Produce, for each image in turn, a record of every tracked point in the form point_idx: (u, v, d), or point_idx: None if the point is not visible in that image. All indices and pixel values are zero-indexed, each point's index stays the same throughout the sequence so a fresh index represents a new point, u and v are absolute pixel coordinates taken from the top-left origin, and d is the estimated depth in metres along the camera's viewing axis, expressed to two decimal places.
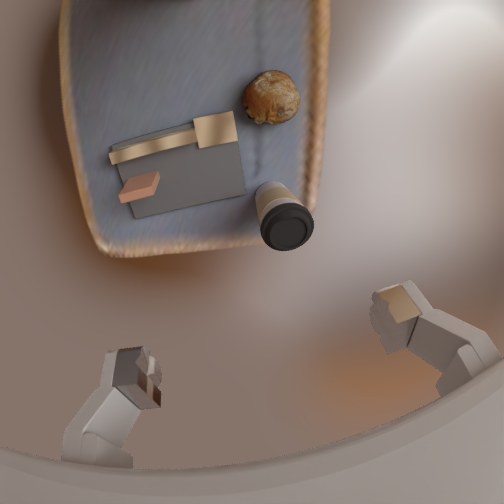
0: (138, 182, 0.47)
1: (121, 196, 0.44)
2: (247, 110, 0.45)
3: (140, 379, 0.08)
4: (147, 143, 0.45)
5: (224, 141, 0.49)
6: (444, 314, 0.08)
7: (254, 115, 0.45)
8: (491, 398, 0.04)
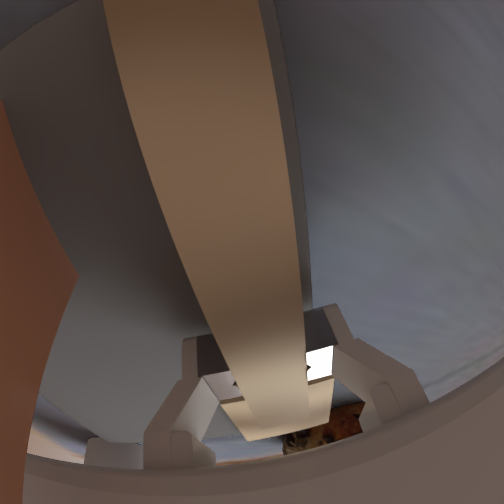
0: None
1: None
2: None
3: None
4: (288, 286, 0.06)
5: (245, 430, 0.15)
6: (366, 345, 0.08)
7: None
8: (491, 398, 0.04)
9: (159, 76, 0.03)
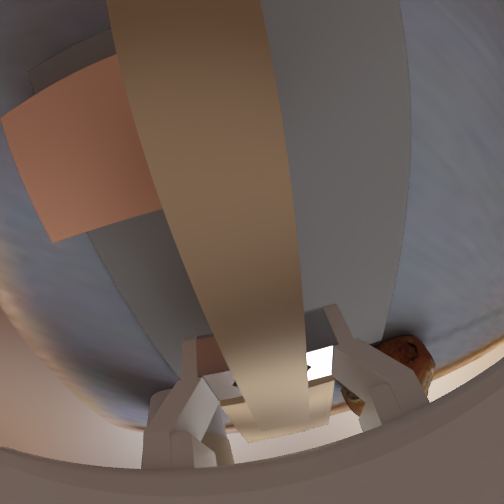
0: (95, 148, 0.09)
1: None
2: None
3: None
4: (290, 290, 0.06)
5: (245, 432, 0.15)
6: (366, 345, 0.08)
7: None
8: (491, 398, 0.04)
9: (162, 80, 0.04)
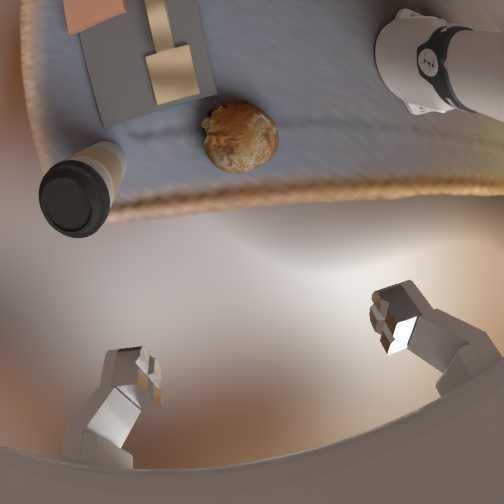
0: (90, 4, 0.21)
1: None
2: (221, 107, 0.33)
3: (140, 379, 0.08)
4: None
5: (155, 87, 0.31)
6: (443, 314, 0.08)
7: (216, 117, 0.33)
8: (491, 398, 0.04)
9: None
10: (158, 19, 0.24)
